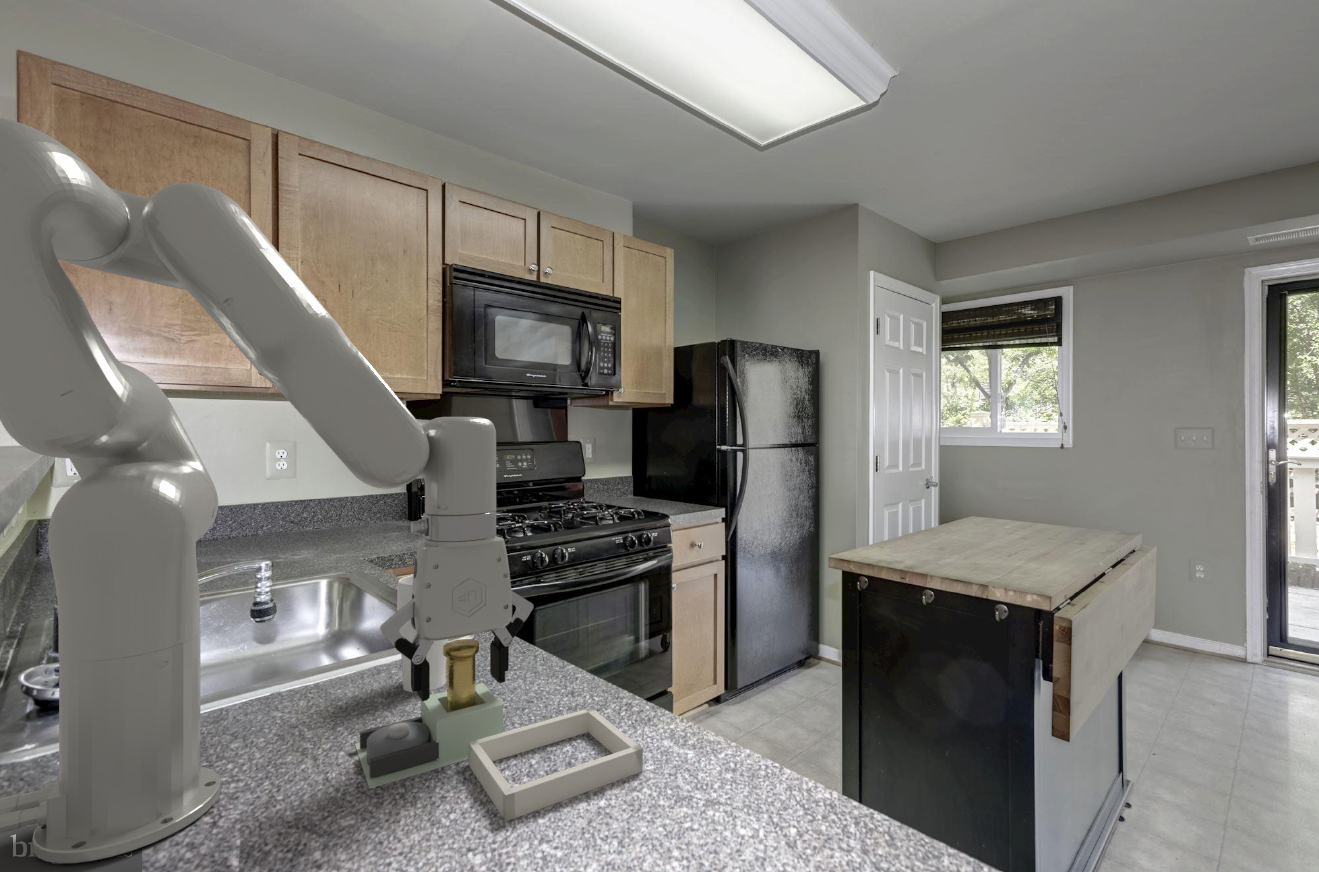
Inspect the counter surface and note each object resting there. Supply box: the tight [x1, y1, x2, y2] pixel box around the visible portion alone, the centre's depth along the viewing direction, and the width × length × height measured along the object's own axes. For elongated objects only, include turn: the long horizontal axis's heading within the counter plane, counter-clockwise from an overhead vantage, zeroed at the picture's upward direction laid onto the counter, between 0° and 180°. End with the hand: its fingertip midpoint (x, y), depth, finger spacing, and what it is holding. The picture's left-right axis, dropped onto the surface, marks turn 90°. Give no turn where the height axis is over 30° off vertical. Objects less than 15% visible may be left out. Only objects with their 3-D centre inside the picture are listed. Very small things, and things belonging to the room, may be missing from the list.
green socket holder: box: [354, 682, 504, 789], centre depth 65 cm, size 14×10×5 cm
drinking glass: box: [396, 574, 449, 693], centre depth 81 cm, size 7×7×15 cm
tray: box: [467, 707, 644, 822], centre depth 60 cm, size 14×11×3 cm
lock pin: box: [443, 638, 480, 713], centre depth 67 cm, size 4×4×10 cm
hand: (461, 686), depth 67 cm, fingers open, 7 cm apart
